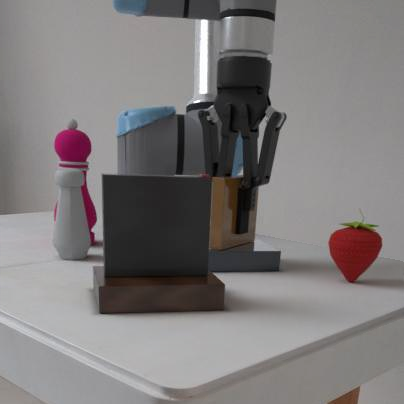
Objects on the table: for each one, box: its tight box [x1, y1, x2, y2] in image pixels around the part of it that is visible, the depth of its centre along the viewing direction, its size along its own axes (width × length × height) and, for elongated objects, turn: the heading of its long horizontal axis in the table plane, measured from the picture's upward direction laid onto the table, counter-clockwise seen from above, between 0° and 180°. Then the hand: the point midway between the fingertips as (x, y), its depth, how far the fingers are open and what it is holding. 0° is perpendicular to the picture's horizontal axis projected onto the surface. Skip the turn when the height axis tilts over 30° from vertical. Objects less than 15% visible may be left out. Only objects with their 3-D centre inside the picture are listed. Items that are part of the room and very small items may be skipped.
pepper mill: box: [53, 118, 98, 246], centre depth 95 cm, size 7×7×20 cm
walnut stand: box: [92, 265, 226, 314], centre depth 66 cm, size 14×10×3 cm
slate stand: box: [208, 238, 282, 273], centre depth 87 cm, size 12×10×3 cm
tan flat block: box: [209, 174, 260, 250], centre depth 85 cm, size 11×2×10 cm, turn 149°
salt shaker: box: [52, 168, 92, 261], centre depth 85 cm, size 6×6×13 cm
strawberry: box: [327, 208, 383, 283], centre depth 78 cm, size 6×8×10 cm
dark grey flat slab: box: [101, 173, 212, 277], centre depth 64 cm, size 12×2×11 cm, turn 103°
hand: (233, 231), depth 86 cm, fingers closed on tan flat block, 2 cm apart
